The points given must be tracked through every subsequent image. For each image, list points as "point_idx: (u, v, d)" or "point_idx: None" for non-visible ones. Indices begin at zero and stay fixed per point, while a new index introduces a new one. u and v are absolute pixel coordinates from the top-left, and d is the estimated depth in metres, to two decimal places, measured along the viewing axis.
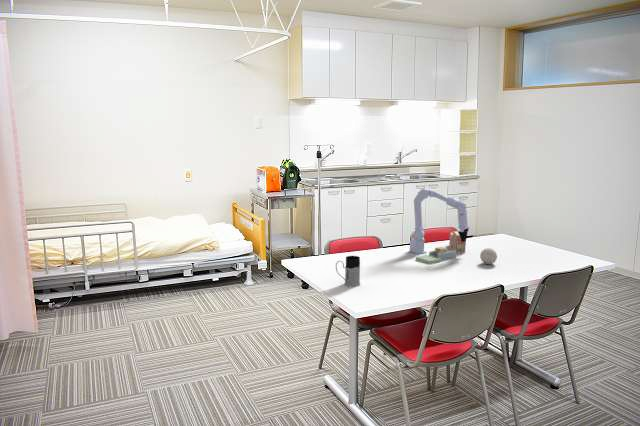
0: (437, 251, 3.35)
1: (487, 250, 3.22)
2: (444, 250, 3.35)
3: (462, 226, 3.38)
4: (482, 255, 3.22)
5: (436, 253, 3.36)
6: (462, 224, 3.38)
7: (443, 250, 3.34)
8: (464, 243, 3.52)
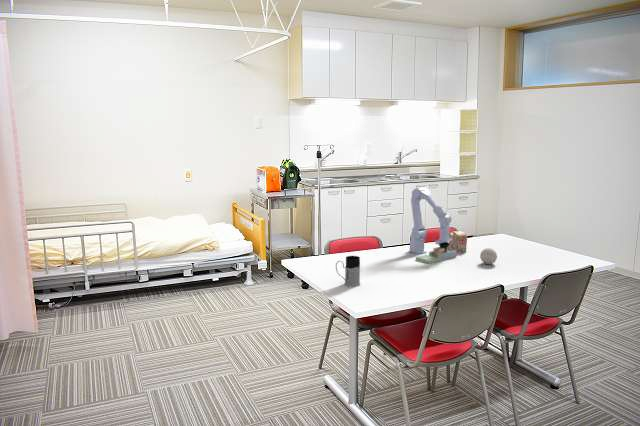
0: (436, 251, 3.34)
1: (487, 250, 3.22)
2: (443, 250, 3.34)
3: (441, 239, 3.35)
4: (482, 255, 3.22)
5: (435, 253, 3.35)
6: (441, 237, 3.35)
7: (441, 250, 3.33)
8: (465, 243, 3.52)
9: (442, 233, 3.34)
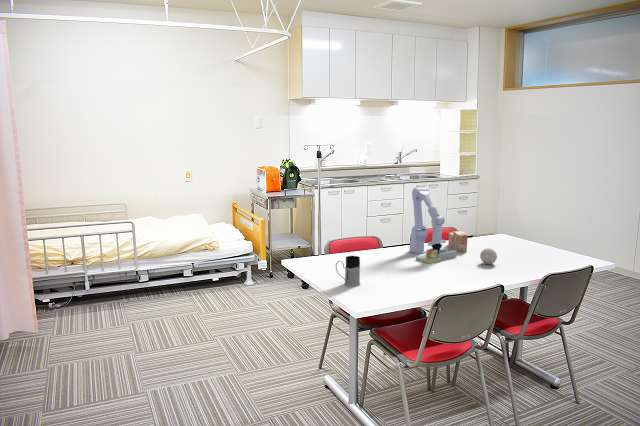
0: (428, 253, 3.30)
1: (487, 250, 3.22)
2: (436, 252, 3.30)
3: (433, 240, 3.31)
4: (482, 255, 3.22)
5: (428, 255, 3.31)
6: (433, 239, 3.31)
7: (434, 251, 3.29)
8: (466, 243, 3.53)
9: (433, 234, 3.31)
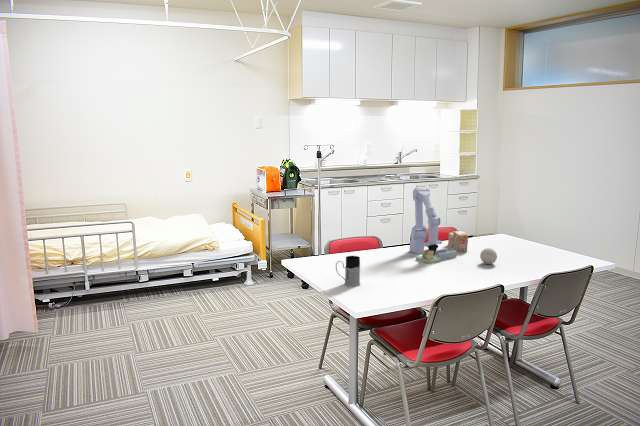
0: (425, 254, 3.28)
1: (487, 250, 3.22)
2: (432, 253, 3.28)
3: (429, 241, 3.29)
4: (482, 255, 3.22)
5: (424, 256, 3.29)
6: (430, 239, 3.29)
7: (430, 252, 3.27)
8: (466, 243, 3.53)
9: (429, 235, 3.29)
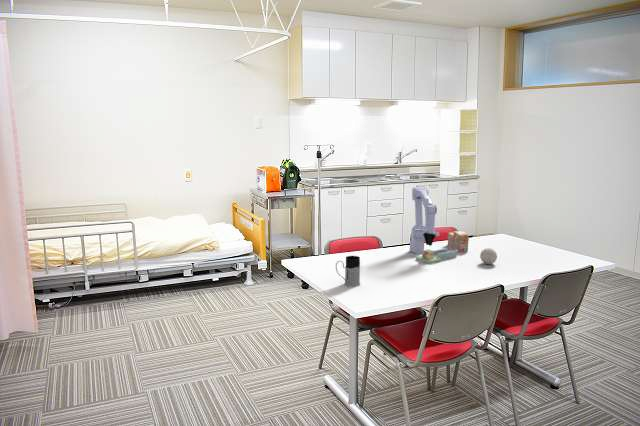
0: (425, 254, 3.28)
1: (487, 250, 3.22)
2: (432, 253, 3.28)
3: None
4: (482, 255, 3.22)
5: (424, 256, 3.29)
6: None
7: (430, 252, 3.27)
8: (467, 243, 3.53)
9: (425, 223, 3.26)
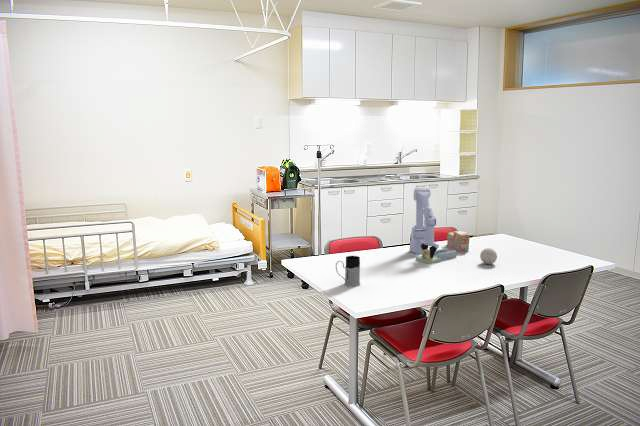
0: (424, 253, 3.28)
1: (487, 250, 3.22)
2: None
3: None
4: (482, 255, 3.22)
5: (423, 256, 3.29)
6: None
7: None
8: (467, 242, 3.54)
9: (425, 235, 3.28)
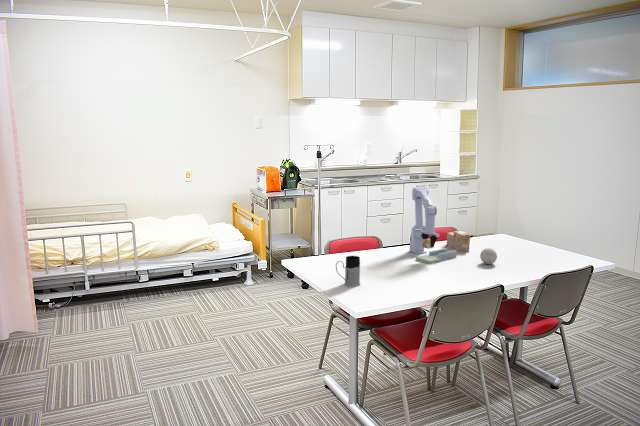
0: (425, 243, 3.27)
1: (487, 250, 3.22)
2: None
3: None
4: (482, 255, 3.22)
5: (424, 245, 3.28)
6: None
7: None
8: (468, 242, 3.54)
9: (425, 224, 3.26)
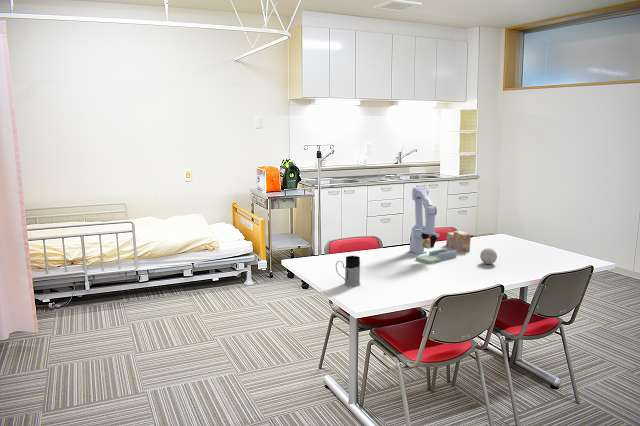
0: (425, 243, 3.27)
1: (487, 250, 3.22)
2: None
3: None
4: (482, 255, 3.22)
5: (424, 245, 3.28)
6: None
7: None
8: (469, 242, 3.55)
9: (425, 224, 3.26)
